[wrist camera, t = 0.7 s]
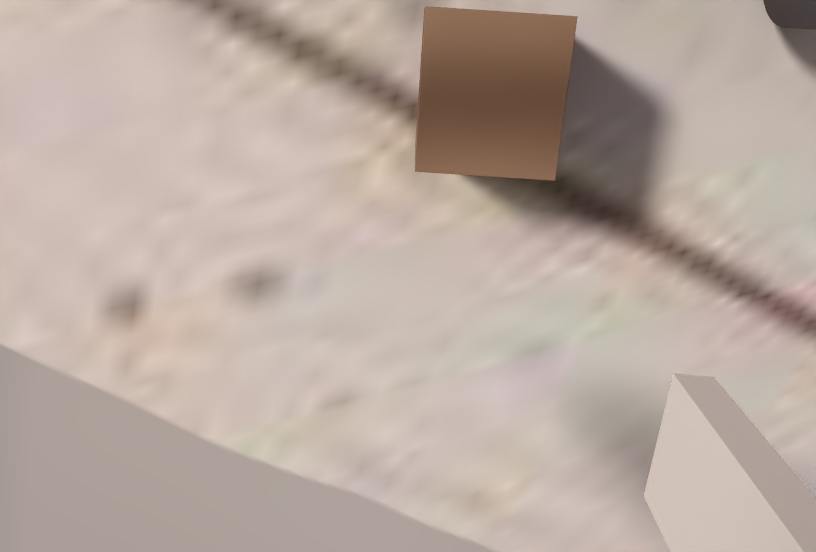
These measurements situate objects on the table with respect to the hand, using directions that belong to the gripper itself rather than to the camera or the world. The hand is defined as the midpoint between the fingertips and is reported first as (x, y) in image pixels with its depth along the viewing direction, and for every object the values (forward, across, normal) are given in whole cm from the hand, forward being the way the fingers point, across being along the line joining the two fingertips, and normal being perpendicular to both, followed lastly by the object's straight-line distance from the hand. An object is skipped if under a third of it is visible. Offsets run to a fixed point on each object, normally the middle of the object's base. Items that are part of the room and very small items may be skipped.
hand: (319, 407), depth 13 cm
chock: (+19, +4, +5) cm, 20 cm away
